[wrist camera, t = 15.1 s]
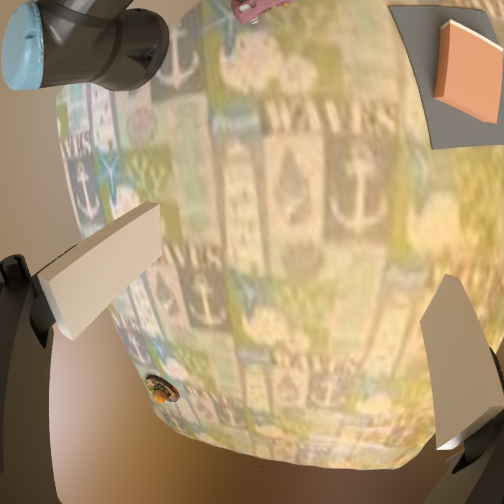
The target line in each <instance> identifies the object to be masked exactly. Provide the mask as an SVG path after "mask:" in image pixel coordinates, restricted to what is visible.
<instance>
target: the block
mask: <svg viewBox="0 0 504 504" xmlns="http://www.w3.org/2000/svg"><path fill="white" fill-rule="evenodd" d="M502 71H503V48H502V47H500V46H498V45H497V44H495V43H494V42H492V41H490V40H489V39H487V38H485V37H484V36H482V35H480V34H478V33H476V32H475V31H473V30H471V29H469V28H467V27H465V26H463V25H461V24H459V23H457V22H455V21H453V20H451V19H450V20H449V21H448V22H446V23H445V24H444V25H443V26H442V27H441V32H440V48H439V59H438V69H437V77H436V84H435V91H434V97H433V98H435V99H437V100H439V101H442V102H444V103H446V104H448V105H451V106H453V107H455V108H457V109H459V110H461V111H463V112H465V113H467V114H469V115H471V116H473V117H475V118H477V119H479V120H481V121H483V122H489V123H495V124H496V123H497V117H498V111H499V103H500V95H501V85H502Z"/></svg>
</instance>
